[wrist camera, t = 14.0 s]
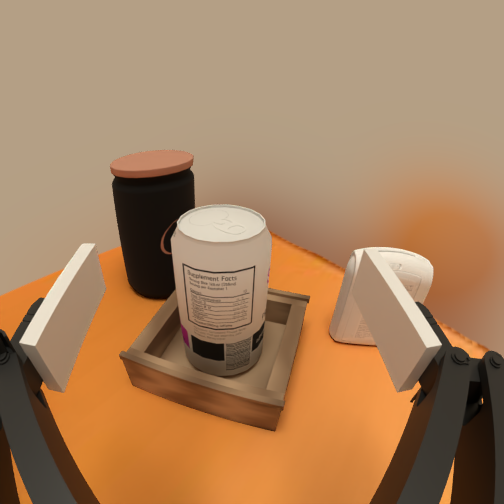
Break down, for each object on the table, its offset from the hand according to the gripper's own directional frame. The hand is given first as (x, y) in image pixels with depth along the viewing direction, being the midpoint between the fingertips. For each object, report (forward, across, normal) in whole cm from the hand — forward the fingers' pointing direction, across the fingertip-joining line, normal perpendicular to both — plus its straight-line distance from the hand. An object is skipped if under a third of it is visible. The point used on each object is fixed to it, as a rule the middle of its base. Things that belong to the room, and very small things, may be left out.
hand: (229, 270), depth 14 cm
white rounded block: (+12, +18, -18) cm, 28 cm away
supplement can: (+10, 0, -17) cm, 20 cm away
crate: (+10, 0, -18) cm, 21 cm away
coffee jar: (+24, -9, -19) cm, 32 cm away
